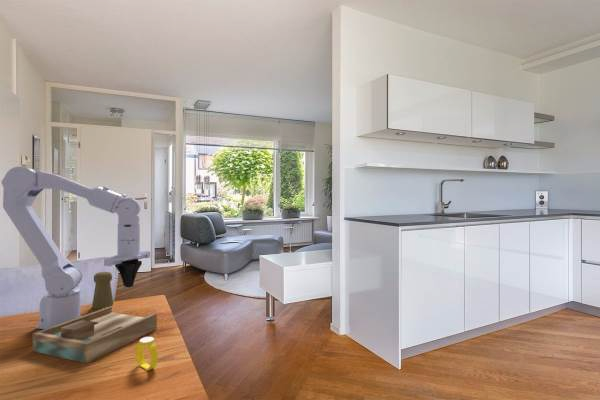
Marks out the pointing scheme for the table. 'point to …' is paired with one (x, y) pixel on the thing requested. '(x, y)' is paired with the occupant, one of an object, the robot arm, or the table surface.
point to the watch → (153, 352)
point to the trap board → (106, 338)
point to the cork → (102, 290)
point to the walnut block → (78, 330)
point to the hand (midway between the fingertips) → (128, 286)
